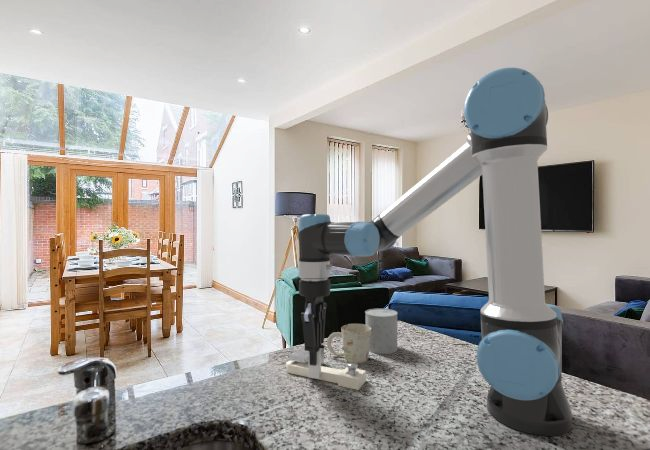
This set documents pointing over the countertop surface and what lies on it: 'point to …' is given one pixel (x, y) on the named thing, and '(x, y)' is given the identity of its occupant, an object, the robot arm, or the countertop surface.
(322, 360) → the keeper
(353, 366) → the pintle
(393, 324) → the gray cylinder
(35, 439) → the countertop surface
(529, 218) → the robot arm
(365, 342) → the mug
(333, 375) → the link
